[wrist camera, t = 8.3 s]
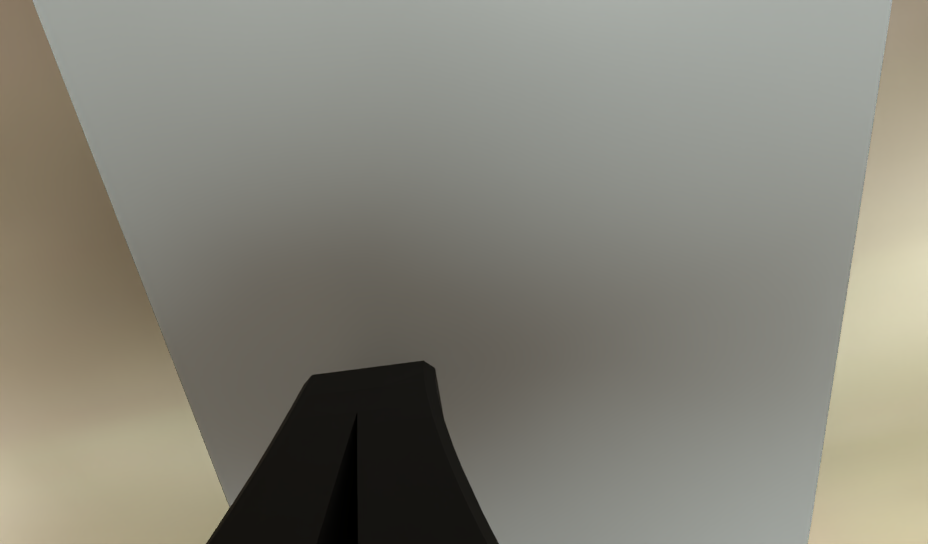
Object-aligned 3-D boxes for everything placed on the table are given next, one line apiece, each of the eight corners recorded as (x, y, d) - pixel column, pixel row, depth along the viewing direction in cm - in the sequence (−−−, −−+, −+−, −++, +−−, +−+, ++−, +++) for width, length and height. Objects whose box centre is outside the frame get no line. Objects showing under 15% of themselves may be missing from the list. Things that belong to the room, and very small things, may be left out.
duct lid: (767, 695, 15) (778, 727, 15) (337, 743, 15) (334, 777, 15) (971, -801, 6) (1024, -856, 5) (-169, -626, 6) (-226, -664, 5)
